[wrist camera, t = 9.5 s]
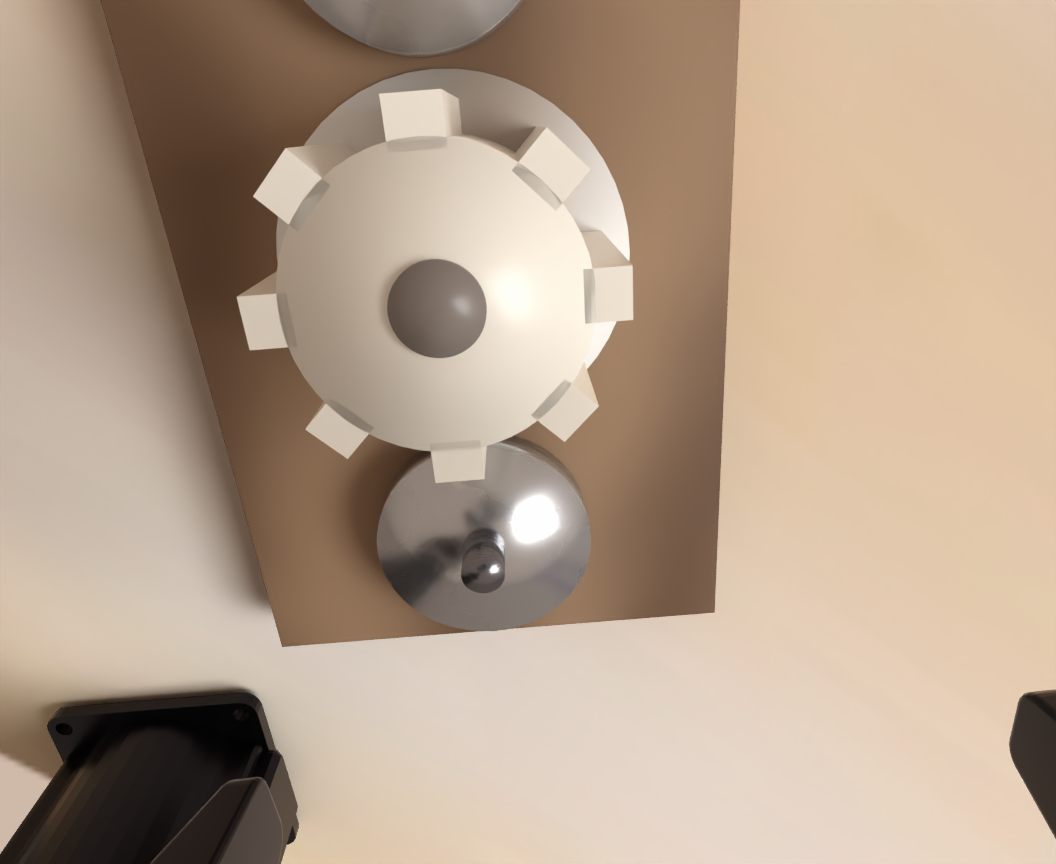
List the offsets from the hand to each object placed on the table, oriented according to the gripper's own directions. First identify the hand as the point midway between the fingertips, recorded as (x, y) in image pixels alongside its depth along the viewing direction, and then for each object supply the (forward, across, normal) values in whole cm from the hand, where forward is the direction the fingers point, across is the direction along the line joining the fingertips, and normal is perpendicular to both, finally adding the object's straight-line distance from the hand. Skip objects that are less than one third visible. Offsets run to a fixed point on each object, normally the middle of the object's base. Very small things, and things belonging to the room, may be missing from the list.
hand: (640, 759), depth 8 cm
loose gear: (+9, +2, -4) cm, 11 cm away
